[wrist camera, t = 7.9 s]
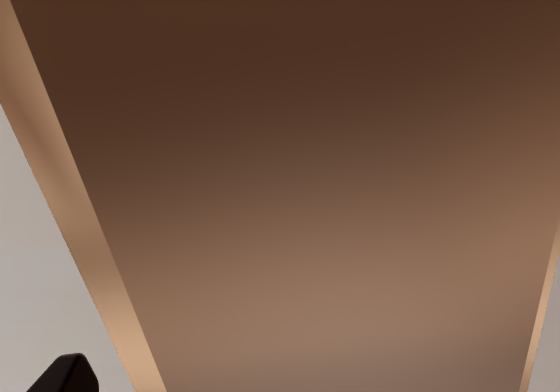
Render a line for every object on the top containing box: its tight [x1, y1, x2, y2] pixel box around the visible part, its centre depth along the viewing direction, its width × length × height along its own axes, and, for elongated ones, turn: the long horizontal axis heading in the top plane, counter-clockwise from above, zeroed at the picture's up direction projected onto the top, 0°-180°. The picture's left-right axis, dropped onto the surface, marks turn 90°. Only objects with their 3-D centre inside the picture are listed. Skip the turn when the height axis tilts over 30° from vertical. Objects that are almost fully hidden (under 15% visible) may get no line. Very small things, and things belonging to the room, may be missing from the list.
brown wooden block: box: [10, 0, 560, 392], centre depth 10 cm, size 14×5×5 cm, turn 7°
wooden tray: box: [0, 0, 560, 392], centre depth 13 cm, size 18×11×3 cm, turn 7°
